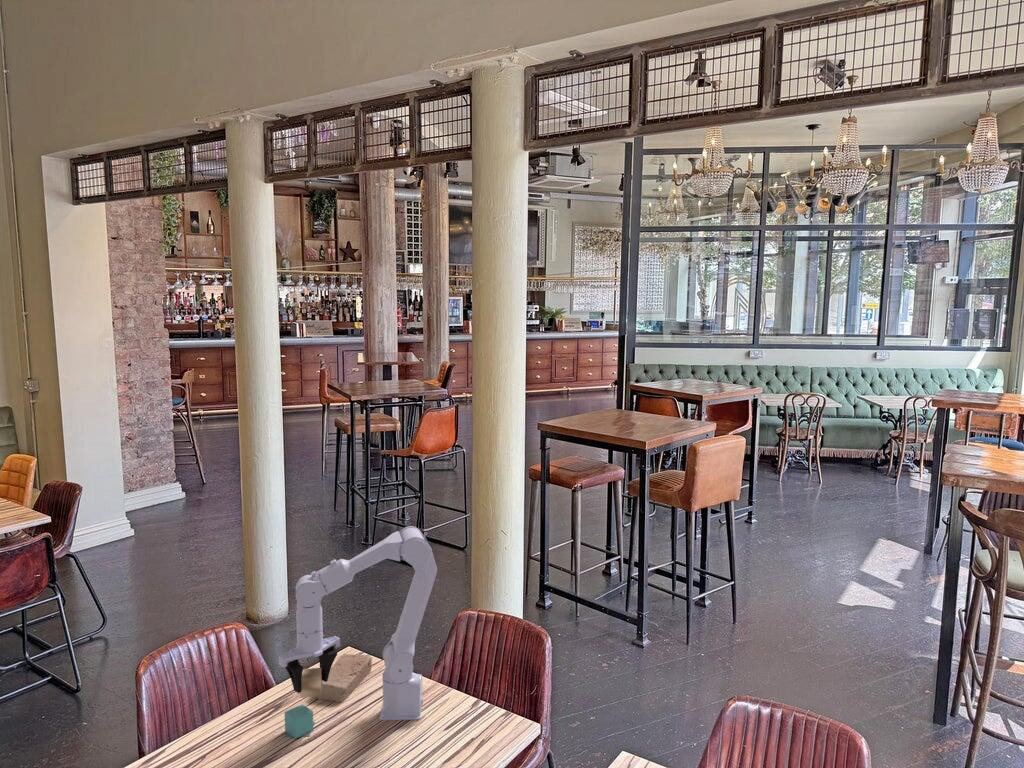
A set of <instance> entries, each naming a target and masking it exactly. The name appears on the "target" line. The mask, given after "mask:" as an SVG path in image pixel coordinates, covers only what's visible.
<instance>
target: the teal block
mask: <svg viewBox="0 0 1024 768" xmlns="http://www.w3.org/2000/svg"><path fill="white" fill-rule="evenodd" d="M313 722H314V711H313V710H312V709H310V708H309V707H307V706H306V705H305V704H304V703H302V704H299V705H297V706H295V707H292V708H290V709H289V710H286V711H284V732H285V733H286V732H287V733H289V734H290V735H291V736H293V737H292V738H293V739H298V738H301V737H300V736H302V735H304V734H306V733H308V732H311V733H312V731H314V727H313Z"/></svg>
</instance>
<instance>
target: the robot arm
mask: <svg viewBox="0 0 1024 768" xmlns="http://www.w3.org/2000/svg"><path fill="white" fill-rule="evenodd" d="M434 556H435V555H434V553H433V549H432V547H431V546H430V543H429V541H428V539H427V538H426V536H425V535H424V534H423V532H422V531H421V530H420V529H419V528H417V526H413V525H411V526H409V525H407V526H405V527H403V528H402V529H401V530H397V531H395V532H392V533H391V534H390V535H388V536H387V537H385V538H384V539H383V540H381V541H378V542H377V543H376V544H374V545H373V546H371V547H369V548H367V549H365V550H364V551H362V552H361V553H358V554H357V555H355V556H354V557H352V558H351V559H344V558H340V559H338V560H336V559H335V558H334V559H333V560H330V564H329V565H327V566H325V567H323V568H321V569H320V570H317V571H316V570H313V571H312V572H310V574H305V575H303V576H301V577H300V578H299V579H298V581H297V582H296V585H295V599H296V608H297V609H296V611H295V613H296V616H295V617H296V618H295V619H296V646H295V647H294V648H292V649H290V650H289V651H287V652H285V653H284V654H281V655H279V656H278V665H279V667H281V668H282V669H283V668H285V670H286V671H287V674H288V676H289V678H290V681H291V684H292V688H293V691H295V693H297V694H300V692H301V689H302V687H301V677H302V671H303V669H304V666H302V665H301V664H300V661H301V660H303V659H306V658H310V657H315V658H316V657H318V661H319V668H322V680H323V681H324V682H327V681H328V677H329V673H330V669H331V667H332V666H333V663H334V662H335V659H337V658H336V657H337V656H338V650H337V649H335V648H339V647H341V638H340V637H338V636H336V635H334V636H329V637H325V638H324V632H323V630H324V628H323V606H322V605H321V604H322V603H321V602H322V600H323V597H324V596H328V595H329V594H331V593H333V592H334V591H336V590H339V589H340V588H342V587H344V586H346V585H348V584H350V583H351V582H353V579H354V577H355V574H357V573H360V572H361V571H363V570H365V569H367V568H369V567H372V566H374V565H376V564H378V563H380V562H383V561H385V560H386V559H388V560H392V561H396V562H401V557H402V559H403V560H404V561H405V562H406V563H407V564H409V565H411V566H412V568H413V570H414V575H413V578H412V580H411V582H410V586H409V589H408V593H407V595H406V599H405V602H404V606H403V609H402V612H401V614H400V617H399V621H398V624H397V626H396V630H395V632H394V633H393V634H392V636H391V638H390V641H389V642H388V643H387V644H386V645H385V646H384V648H383V651H382V660H383V662H384V666H385V669H384V671H383V672H382V707H381V711H380V713H379V721H414V720H420V719H421V714H422V707H423V706H424V697H423V675H422V674H421V673H415V672H414V665H413V660H414V656H415V645H416V639H417V636H418V634H419V630H420V627H421V623H422V621H423V618H424V614H425V611H426V608H427V605H428V602H429V598H430V597H431V593H432V589H433V586H434V583H435V580H436V577H437V575H438V574H437V573H438V567H437V563H436V560H435V557H434Z"/></svg>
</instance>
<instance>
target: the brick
mask: <svg viewBox="0 0 1024 768" xmlns="http://www.w3.org/2000/svg"><path fill="white" fill-rule="evenodd" d="M372 658H373V657H372V656H370V655H366V654H358V653H356V654H354V653H353V654H351V653H350V654H349V653H343V654H342V655H340V657H339V658H338V659H337V660H336V662H335V663H334V665H332V666H331V669H330V673H329V677H328V681H327V682H324V681H323V680H322V691H321V696H314V697H315V699H319V700H326V701H331V702H332V701H333V702H336V703H344V702H345V701H346V700H347V699H348V698H349V697H350V696H351V693H354V691H355V690H356V689H357V688H358V687H359V685H360V684H361V683H362V682H363V681H364V680H365V678H366V677H367V676H368V675H369V674H370V673H371V671H372V663H373V661H372V660H373V659H372Z"/></svg>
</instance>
